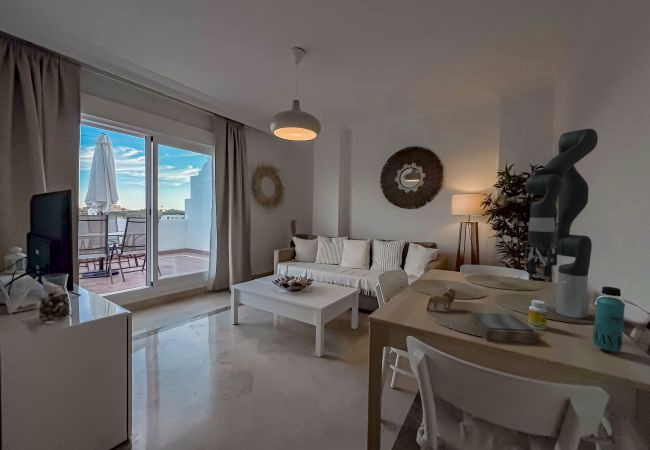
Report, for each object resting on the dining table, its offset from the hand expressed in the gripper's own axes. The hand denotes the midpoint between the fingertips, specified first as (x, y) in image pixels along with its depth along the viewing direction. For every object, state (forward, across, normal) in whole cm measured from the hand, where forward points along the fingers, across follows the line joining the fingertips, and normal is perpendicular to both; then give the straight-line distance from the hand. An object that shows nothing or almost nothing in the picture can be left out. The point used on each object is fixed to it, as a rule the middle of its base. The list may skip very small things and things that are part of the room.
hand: (539, 273), depth 104 cm
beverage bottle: (+20, -17, -10) cm, 28 cm away
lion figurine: (+20, +15, +30) cm, 39 cm away
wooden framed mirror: (+20, -6, +16) cm, 26 cm away
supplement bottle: (+20, 0, 0) cm, 20 cm away
